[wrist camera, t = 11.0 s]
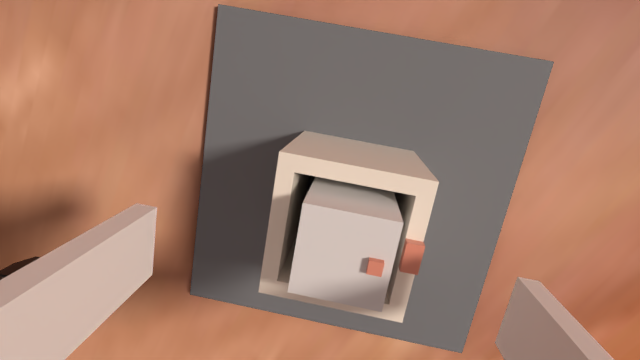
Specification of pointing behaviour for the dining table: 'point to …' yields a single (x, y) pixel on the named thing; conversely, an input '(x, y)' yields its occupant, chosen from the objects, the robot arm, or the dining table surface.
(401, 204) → the cream square sleeve
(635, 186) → the dining table surface
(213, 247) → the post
